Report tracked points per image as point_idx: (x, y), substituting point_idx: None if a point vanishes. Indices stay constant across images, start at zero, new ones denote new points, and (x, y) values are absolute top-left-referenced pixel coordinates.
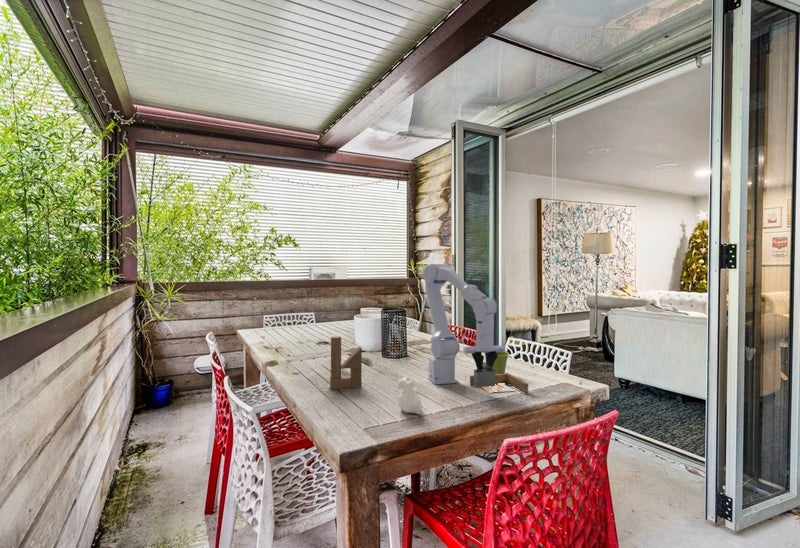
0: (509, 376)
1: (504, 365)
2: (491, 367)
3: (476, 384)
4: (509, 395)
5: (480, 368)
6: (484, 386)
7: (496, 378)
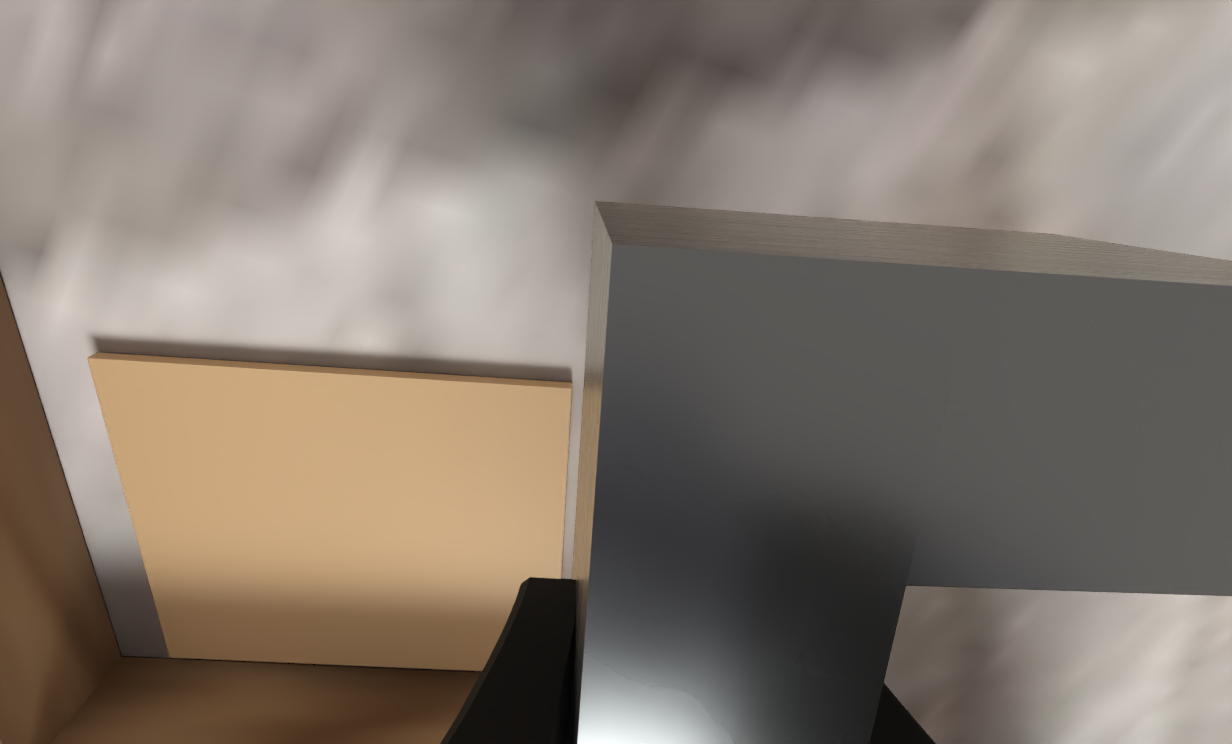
0: (3, 713)
1: None
2: (486, 725)
3: (1102, 243)
4: (277, 203)
5: (914, 732)
6: (855, 220)
7: (243, 737)
